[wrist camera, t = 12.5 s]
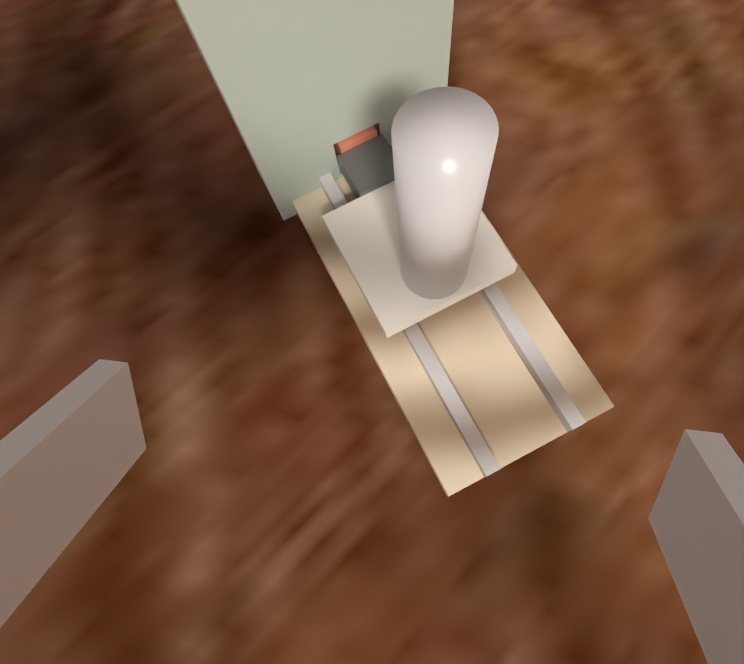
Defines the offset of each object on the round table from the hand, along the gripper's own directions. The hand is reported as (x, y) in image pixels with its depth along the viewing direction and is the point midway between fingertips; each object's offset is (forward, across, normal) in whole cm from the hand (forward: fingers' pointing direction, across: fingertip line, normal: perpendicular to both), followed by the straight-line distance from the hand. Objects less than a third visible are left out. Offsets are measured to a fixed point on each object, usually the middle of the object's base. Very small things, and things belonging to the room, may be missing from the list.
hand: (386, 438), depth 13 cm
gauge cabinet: (+26, -6, +2) cm, 27 cm away
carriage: (+20, -1, -1) cm, 20 cm away
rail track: (+19, +1, -5) cm, 20 cm away
